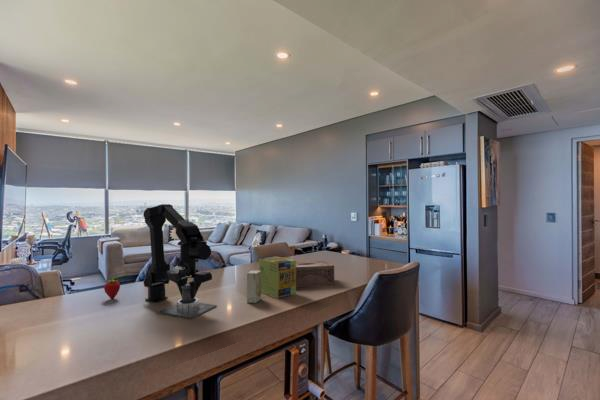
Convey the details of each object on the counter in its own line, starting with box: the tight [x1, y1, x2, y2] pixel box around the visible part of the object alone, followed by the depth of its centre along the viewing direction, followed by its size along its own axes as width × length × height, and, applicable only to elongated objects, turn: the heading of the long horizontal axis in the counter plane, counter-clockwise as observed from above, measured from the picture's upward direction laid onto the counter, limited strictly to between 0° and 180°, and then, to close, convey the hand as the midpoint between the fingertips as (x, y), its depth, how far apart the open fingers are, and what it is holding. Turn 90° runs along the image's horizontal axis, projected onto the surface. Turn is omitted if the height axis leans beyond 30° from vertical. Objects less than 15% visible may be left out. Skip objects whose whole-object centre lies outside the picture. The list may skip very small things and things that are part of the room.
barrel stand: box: [157, 296, 218, 320], centre depth 113 cm, size 16×14×4 cm
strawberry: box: [103, 276, 121, 300], centre depth 127 cm, size 6×8×10 cm
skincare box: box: [246, 269, 262, 304], centre depth 124 cm, size 6×4×12 cm
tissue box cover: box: [296, 260, 335, 288], centre depth 154 cm, size 26×14×10 cm, turn 101°
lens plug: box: [181, 282, 194, 303], centre depth 113 cm, size 5×5×8 cm
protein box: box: [258, 256, 297, 300], centre depth 136 cm, size 10×15×16 cm
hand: (187, 297), depth 113 cm, fingers closed on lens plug, 4 cm apart
